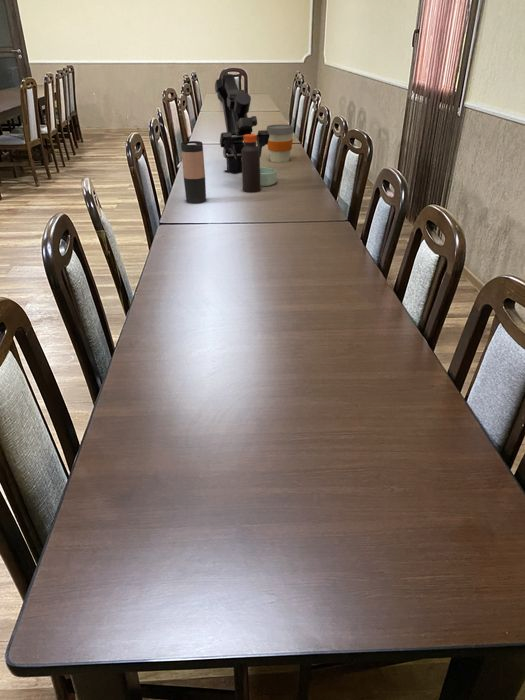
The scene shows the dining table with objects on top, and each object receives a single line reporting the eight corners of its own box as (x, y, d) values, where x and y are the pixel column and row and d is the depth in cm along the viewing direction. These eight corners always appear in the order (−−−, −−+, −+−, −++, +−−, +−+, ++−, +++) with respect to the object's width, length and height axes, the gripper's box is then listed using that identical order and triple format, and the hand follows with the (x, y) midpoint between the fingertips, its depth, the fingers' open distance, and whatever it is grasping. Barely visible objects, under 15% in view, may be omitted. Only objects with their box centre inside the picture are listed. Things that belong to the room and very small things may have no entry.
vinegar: (239, 190, 208) (237, 135, 198) (253, 187, 211) (252, 133, 201) (249, 193, 203) (247, 137, 193) (263, 190, 207) (262, 135, 196)
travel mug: (186, 198, 199) (181, 141, 188) (206, 197, 199) (202, 140, 189) (185, 204, 192) (179, 145, 182) (206, 203, 193) (202, 144, 182)
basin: (239, 184, 216) (239, 171, 214) (259, 178, 224) (259, 166, 221) (262, 188, 209) (262, 175, 207) (282, 182, 217) (282, 169, 214)
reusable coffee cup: (267, 157, 260) (267, 124, 253) (293, 157, 259) (294, 124, 252) (265, 163, 250) (264, 128, 242) (292, 163, 248) (292, 128, 241)
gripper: (219, 109, 199) (226, 145, 195) (268, 107, 203) (275, 142, 199) (217, 129, 210) (223, 164, 206) (263, 126, 213) (270, 160, 210)
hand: (248, 157), depth 205 cm, fingers open, 9 cm apart
